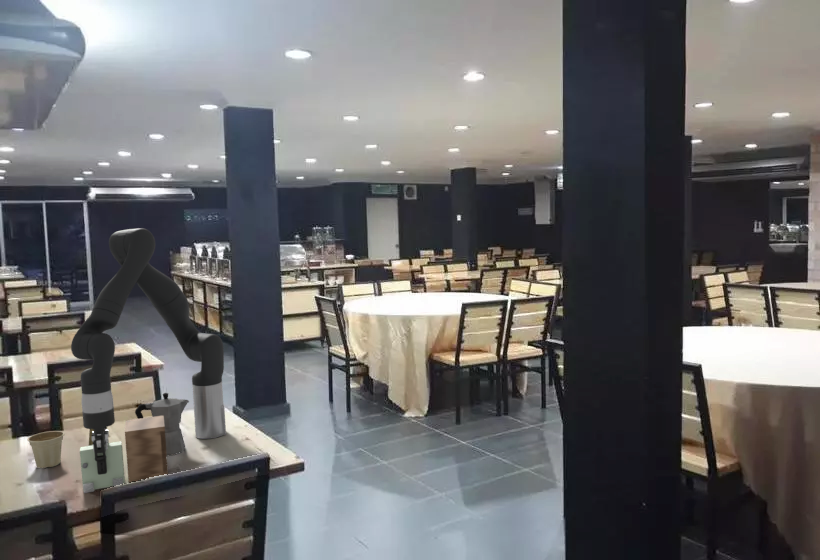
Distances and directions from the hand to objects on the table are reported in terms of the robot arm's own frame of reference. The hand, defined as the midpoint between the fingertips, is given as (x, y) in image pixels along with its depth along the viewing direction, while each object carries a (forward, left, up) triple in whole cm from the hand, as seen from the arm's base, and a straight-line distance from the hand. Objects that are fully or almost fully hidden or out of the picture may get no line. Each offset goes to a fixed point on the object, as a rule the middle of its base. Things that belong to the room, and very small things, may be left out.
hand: (103, 469), depth 177 cm
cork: (+3, -30, -5) cm, 31 cm away
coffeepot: (-16, -20, -5) cm, 26 cm away
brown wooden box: (-11, -5, -4) cm, 13 cm away
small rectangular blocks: (0, 0, -4) cm, 4 cm away
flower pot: (+16, -24, -5) cm, 30 cm away
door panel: (0, 0, -4) cm, 4 cm away
